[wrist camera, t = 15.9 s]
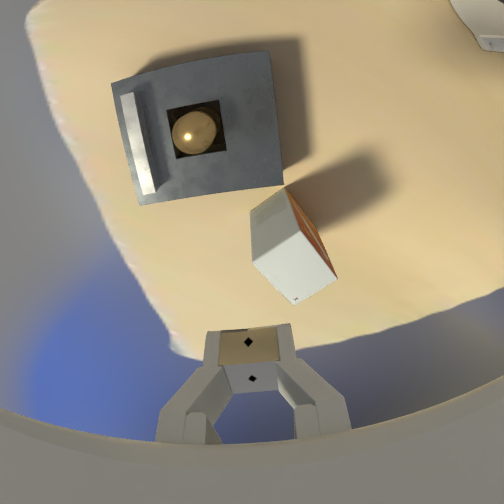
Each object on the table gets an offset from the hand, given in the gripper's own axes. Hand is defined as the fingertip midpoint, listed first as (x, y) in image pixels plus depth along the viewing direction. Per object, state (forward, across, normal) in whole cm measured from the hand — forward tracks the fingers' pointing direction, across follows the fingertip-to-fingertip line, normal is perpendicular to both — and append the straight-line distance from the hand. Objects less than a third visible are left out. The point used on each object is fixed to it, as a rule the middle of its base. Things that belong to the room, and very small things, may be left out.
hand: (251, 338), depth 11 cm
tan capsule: (+31, +5, -4) cm, 32 cm away
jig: (+31, +5, -4) cm, 32 cm away
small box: (+31, -4, +11) cm, 33 cm away
